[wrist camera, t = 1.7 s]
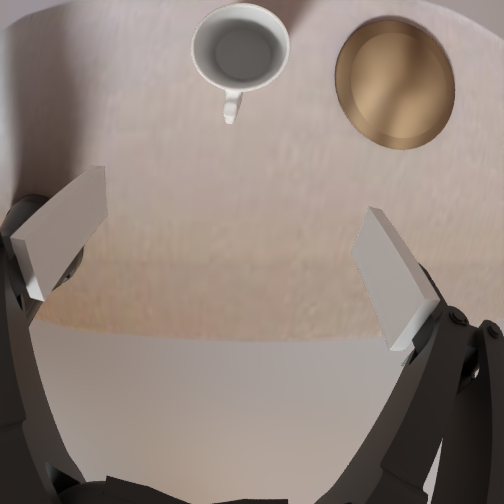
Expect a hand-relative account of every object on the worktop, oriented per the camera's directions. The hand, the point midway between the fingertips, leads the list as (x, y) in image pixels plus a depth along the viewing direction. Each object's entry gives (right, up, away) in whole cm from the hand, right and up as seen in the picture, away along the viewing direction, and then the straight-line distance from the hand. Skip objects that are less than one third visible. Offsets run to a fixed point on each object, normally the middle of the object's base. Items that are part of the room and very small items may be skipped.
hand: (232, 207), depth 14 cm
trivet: (+18, +17, +13) cm, 28 cm away
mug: (0, +17, +13) cm, 22 cm away
